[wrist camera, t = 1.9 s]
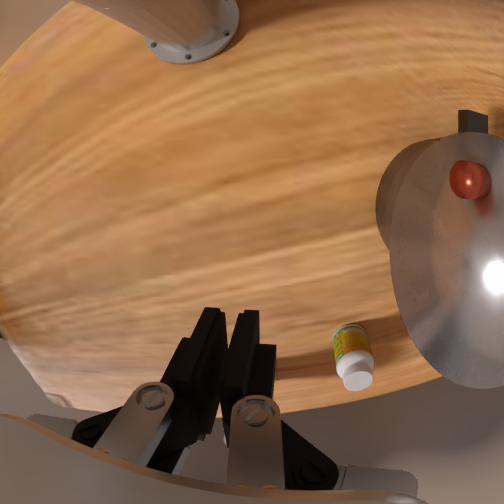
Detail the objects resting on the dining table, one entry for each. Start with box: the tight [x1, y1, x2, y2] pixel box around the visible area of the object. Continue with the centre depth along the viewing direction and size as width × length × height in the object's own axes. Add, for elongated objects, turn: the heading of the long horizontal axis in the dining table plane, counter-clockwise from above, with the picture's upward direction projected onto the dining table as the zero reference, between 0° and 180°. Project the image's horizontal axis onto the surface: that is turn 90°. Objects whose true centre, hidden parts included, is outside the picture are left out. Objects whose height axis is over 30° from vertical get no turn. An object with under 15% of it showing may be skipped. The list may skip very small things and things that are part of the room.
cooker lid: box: [390, 132, 504, 389], centre depth 17 cm, size 19×19×3 cm
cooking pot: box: [376, 110, 488, 250], centre depth 29 cm, size 25×18×10 cm
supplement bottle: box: [333, 324, 374, 391], centre depth 38 cm, size 5×5×10 cm
